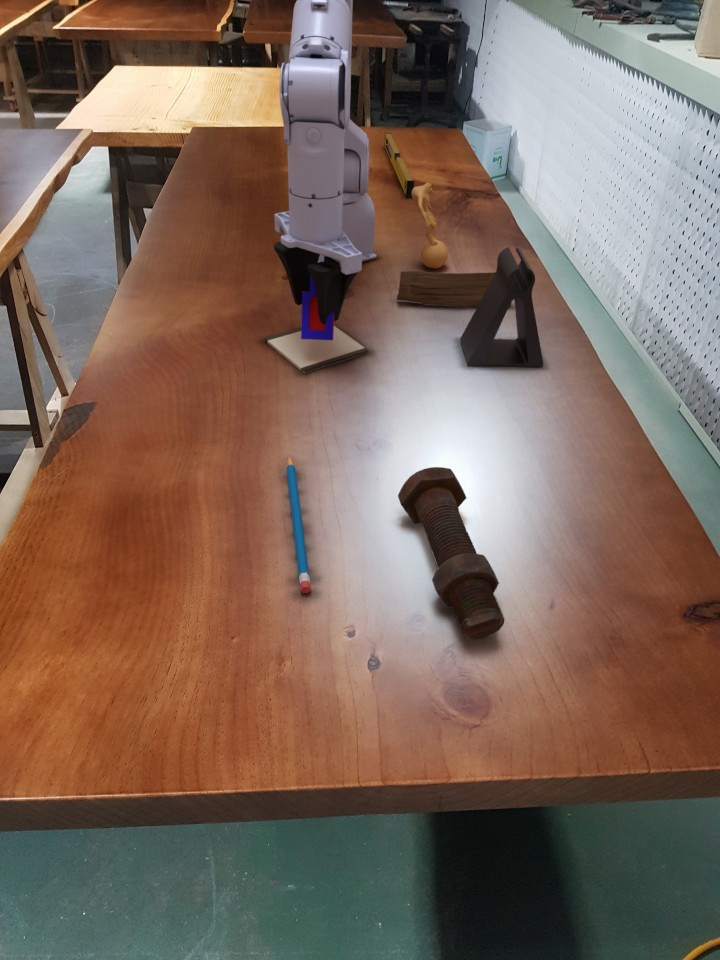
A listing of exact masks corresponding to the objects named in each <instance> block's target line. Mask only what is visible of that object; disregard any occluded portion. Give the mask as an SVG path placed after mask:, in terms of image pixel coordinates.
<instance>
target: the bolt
mask: <svg viewBox="0 0 720 960" xmlns="http://www.w3.org/2000/svg"><path fill="white" fill-rule="evenodd" d="M397 498H398V500H399V504H400V505H401V507H402V508H403V510H404V511H405V513H406V514H407V516H408V517H409V518H410V520H411V521H412V522H413V524H414V525H417V524H421V525H422V527H423V530H424V533H425V536H426V538H427V542H428V544H429V547H430V550H431V552H432V554H433V558H434V560H435V562H436V563H435V564H436V566H437V570H436V571H435V573H434V574H433V577H432V579H431V581H432V585H433V587H434V591H435V592H436V594H437V595H438V597H439V599H440V600H441V602H442V603H443V604H444V606H445V607H447V608H450V609H452V610H453V613H454V616H455V618H456V621H457V624H458V627H459V629H460V632H461V634H462V636H464V637H466V638H468V639H469V640H481V639H485V638H488V637H490V636H492V635H494V634H496V633H498V632H499V631H500V630H501V629H502V627H503V626H504V624H505V617H504V614H503V612H502V610H501V607H500V606H499V603H498V601H497V599H496V596H495V594H494V593H495V591H496V589H497V588H498V586H499V584H500V582H499V580H498V578H497V574H496V573H495V570H494V569H493V567H492V566H491V563H490V562H489V561H488V559H487V557H486V556H485V555H484V554H481V553H477V551H476V548H475V545H474V544H473V542H472V539H471V536H470V535H469V533H468V530H467V528H466V526H465V523H464V521H463V518H462V515H461V513H460V510H459V509H460V506H461V505H462V504H463V503H464V502H465V500H466V499H467V496H466V493H465V491H464V488H463V487H462V485H461V483H460V481H459V479H458V478H457V476H456V475H455V473H454V471H453V470H452V469H451V468H450V467H449V468H448V467H444V466H443V467H442V466H441V467H440V466H433V467H427V468H423V469H420V470H418V471H416V472H414V473H413V474H412V475H410V476H409V477H408V478H407V479H406V480H405V482H404V483H403V485H402V486H401V488H400V490H399V491H398V494H397Z"/></svg>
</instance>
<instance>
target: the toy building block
mask: <svg viewBox="0 0 720 960" xmlns="http://www.w3.org/2000/svg"><path fill="white" fill-rule="evenodd" d="M334 326H335V327H336V326H337V321H334V310H333V312H332V313H331V314H330V315H329V316H328V318H327V319H326V324H323V323H322V322H321V321H320V318H319V314H318V304H317V294H316V289H315V286H314V282H313V279H312V277H310V292H302V304H301V327H300V328H301V339H311V340H333V332H334Z"/></svg>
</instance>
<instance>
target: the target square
mask: <svg viewBox="0 0 720 960" xmlns="http://www.w3.org/2000/svg"><path fill="white" fill-rule="evenodd" d="M264 342H265V343H267V344H268V346H270V347H271V348H272V349H274V350H275V351H276V352H277V353H278V354H279V355H281V356H282V357H283V358H284V359H286V360H287V361H288V362H290V364H292V365H293V366H294V367H295V368H296V369H298V370H299V371H300V372H301V373H303V374H308V373H311V372H315V371H317V370H320V369H323V368H327V367H329V366H333V365H336V364H339V363H342V362H345V361H348V360H352V359H354V358H357V357H361V356H364V355H367V354H369V349H368V348H366V347H364V346H363V345H361V344H360V343H359V342H357V341H356V340H354V339H353V338H352V337H350V336H349V335H348V334H346V333H345V332H344V331H342V330H341V329H339V328H338V327H336V326H334V332H333V340H311V339H301V327H299V328H296V329H295V328H294V329H292V330H288V331H285V332H281V333H277V334H274V335H271V336H267V337H265V338H264Z"/></svg>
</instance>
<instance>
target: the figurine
mask: <svg viewBox="0 0 720 960" xmlns="http://www.w3.org/2000/svg"><path fill="white" fill-rule="evenodd" d="M432 186H433V185H432V183H431V182H429V181H428V182H426V183H424V184H422V185H418V186H414V188H413V190H412V198H411V199H412V200H413V202H414V204H415V206H416V207H417V210H418V212H419V213H420V215H421V217H422V219H423V222H424V223H425V225H426V227H425V229H426V230H425V236H426V238H427V240H428V241H427V242H426V243H424V245H423V246H422V248H421V250H420V259H421V262H422V263H423V265H424V266H426V268H429V269H439V268H441V267H442V266H444V265H445V264H446V262H447V260H448V257H449V251H448V247H447V246H446V244H445V243H444V242H443V241H441V240H438V238H437V237H434V236H433V235H432V233H433V231H434V230H435V229H436V228H437V219H436V217H434V215H433V213H431V211H430V210H432V205H431V204H430V199H431V197H430V192H432V191H433V187H432Z"/></svg>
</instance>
